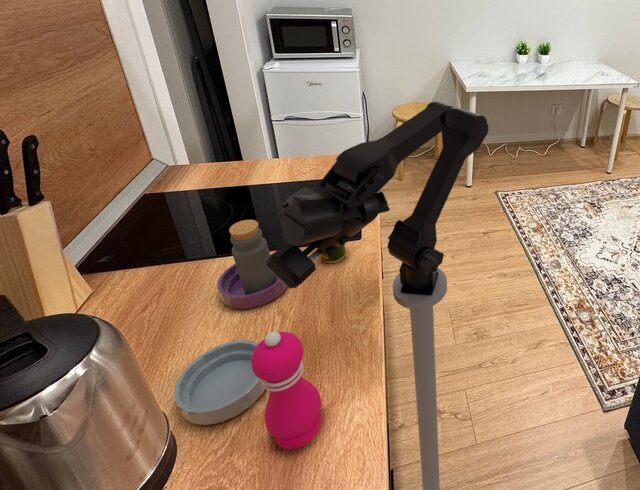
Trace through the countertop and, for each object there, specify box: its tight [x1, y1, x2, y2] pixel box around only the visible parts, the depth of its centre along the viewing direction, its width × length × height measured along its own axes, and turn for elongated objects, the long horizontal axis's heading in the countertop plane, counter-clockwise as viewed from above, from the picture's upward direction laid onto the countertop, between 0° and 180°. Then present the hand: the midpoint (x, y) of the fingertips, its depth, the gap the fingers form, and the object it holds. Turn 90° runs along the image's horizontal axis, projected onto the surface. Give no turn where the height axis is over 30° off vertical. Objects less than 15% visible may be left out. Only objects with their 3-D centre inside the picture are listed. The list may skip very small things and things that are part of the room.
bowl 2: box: [173, 339, 266, 426], centre depth 66 cm, size 12×12×4 cm
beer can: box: [319, 243, 347, 264], centre depth 92 cm, size 5×5×12 cm
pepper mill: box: [251, 331, 322, 451], centre depth 57 cm, size 7×7×20 cm
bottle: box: [228, 219, 277, 294], centre depth 81 cm, size 6×6×15 cm
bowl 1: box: [216, 254, 288, 310], centre depth 84 cm, size 12×12×4 cm
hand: (300, 256), depth 75 cm, fingers open, 9 cm apart
